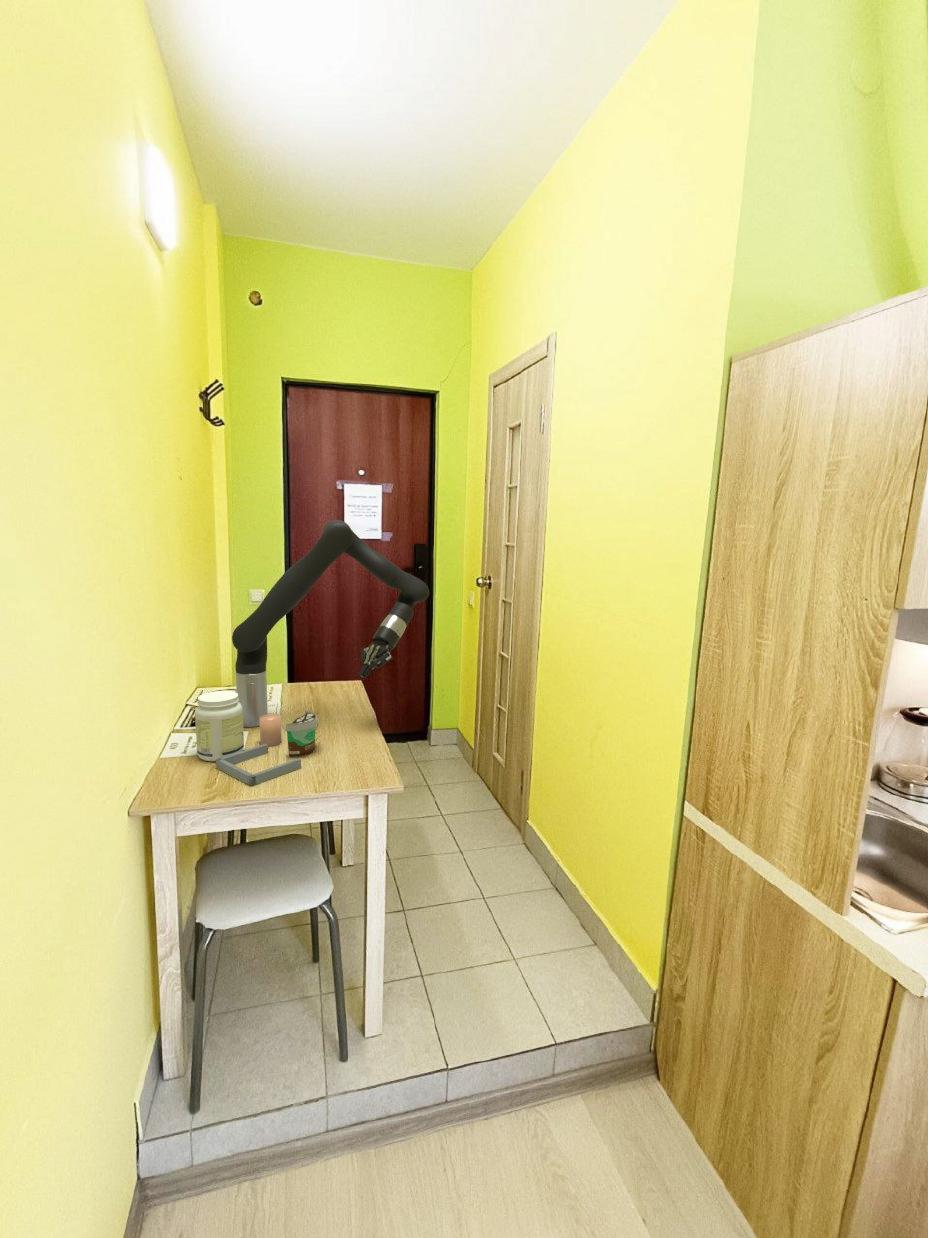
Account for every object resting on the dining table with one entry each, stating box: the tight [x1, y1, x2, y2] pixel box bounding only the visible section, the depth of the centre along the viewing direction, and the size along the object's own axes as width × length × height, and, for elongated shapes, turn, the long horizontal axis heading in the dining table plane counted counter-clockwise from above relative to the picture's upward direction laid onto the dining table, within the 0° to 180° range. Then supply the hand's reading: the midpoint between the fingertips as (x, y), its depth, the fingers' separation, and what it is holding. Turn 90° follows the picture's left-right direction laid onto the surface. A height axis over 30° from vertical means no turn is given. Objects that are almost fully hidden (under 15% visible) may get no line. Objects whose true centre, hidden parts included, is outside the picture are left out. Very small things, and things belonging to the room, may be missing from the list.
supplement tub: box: [194, 690, 245, 762], centre depth 162 cm, size 12×12×17 cm
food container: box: [285, 710, 319, 758], centre depth 166 cm, size 12×6×10 cm, turn 168°
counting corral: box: [215, 744, 302, 787], centre depth 155 cm, size 16×15×2 cm
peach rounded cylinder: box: [259, 713, 283, 748], centre depth 172 cm, size 6×6×8 cm
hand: (361, 676), depth 180 cm, fingers closed
